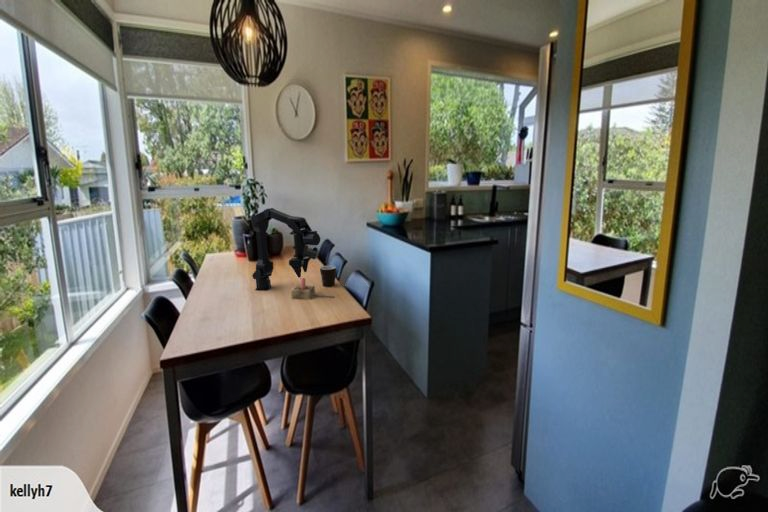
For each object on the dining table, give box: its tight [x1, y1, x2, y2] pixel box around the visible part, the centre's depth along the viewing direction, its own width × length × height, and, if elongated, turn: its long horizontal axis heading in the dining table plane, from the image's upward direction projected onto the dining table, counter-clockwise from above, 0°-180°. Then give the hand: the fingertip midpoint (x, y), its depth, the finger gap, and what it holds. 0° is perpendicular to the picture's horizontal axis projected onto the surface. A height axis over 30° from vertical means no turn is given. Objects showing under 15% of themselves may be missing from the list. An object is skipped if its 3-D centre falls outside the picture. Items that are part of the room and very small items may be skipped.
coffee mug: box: [319, 265, 337, 288], centre depth 201 cm, size 12×9×10 cm
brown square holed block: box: [291, 284, 316, 300], centre depth 184 cm, size 9×9×4 cm
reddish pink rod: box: [299, 277, 307, 290], centre depth 184 cm, size 2×2×9 cm
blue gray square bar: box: [312, 294, 336, 299], centre depth 183 cm, size 11×1×1 cm, turn 76°
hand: (302, 274), depth 182 cm, fingers open, 9 cm apart
